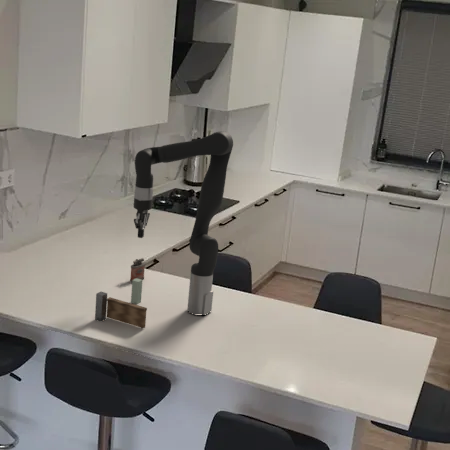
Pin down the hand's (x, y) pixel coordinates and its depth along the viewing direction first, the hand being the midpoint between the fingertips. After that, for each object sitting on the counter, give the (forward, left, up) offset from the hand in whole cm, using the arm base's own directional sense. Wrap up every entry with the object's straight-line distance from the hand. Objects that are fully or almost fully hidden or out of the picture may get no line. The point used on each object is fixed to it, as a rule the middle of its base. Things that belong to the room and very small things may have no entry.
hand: (140, 237), depth 290 cm
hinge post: (-3, +28, -27) cm, 39 cm away
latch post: (-3, +5, -27) cm, 28 cm away
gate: (-12, +24, -27) cm, 38 cm away
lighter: (+12, -17, -27) cm, 34 cm away
